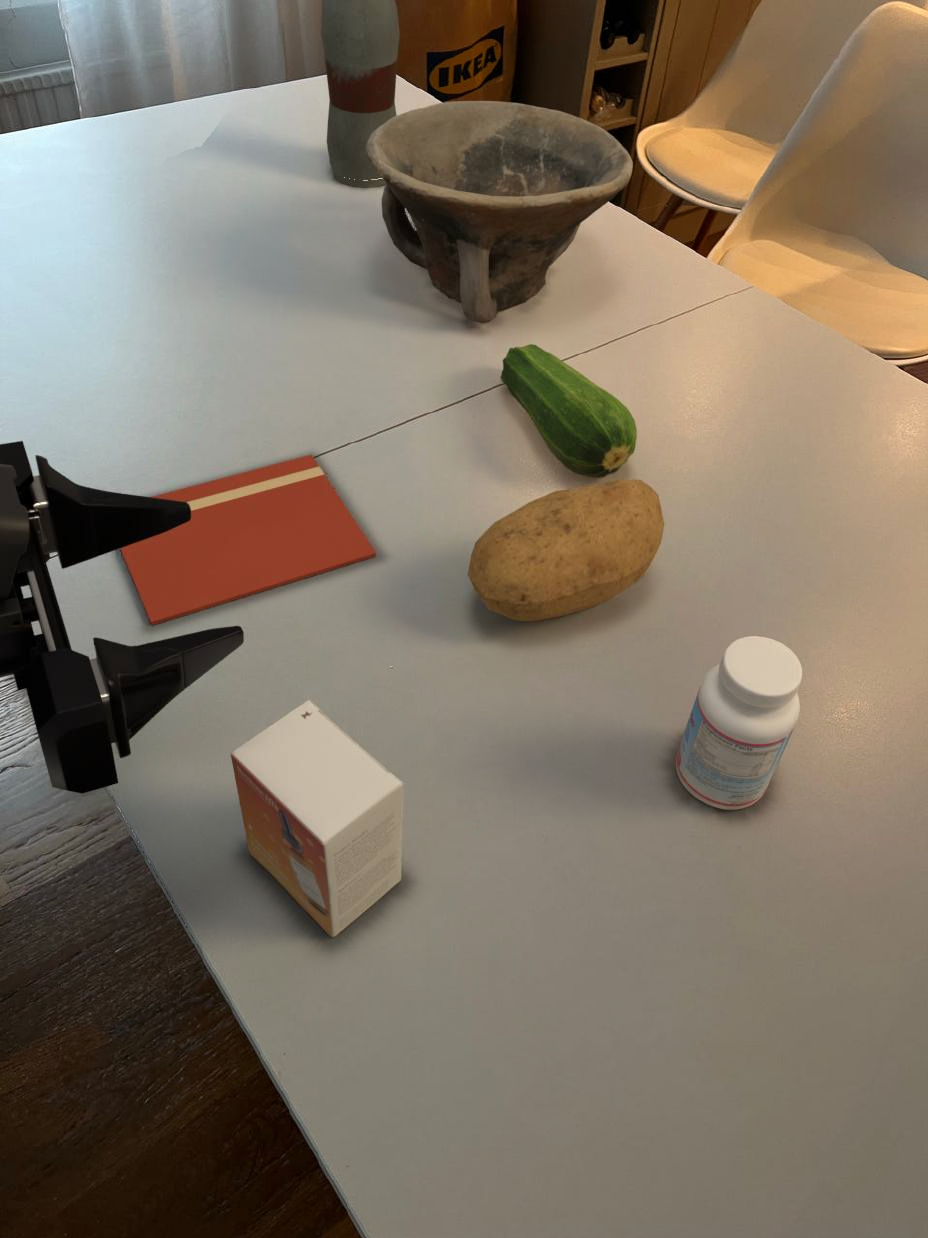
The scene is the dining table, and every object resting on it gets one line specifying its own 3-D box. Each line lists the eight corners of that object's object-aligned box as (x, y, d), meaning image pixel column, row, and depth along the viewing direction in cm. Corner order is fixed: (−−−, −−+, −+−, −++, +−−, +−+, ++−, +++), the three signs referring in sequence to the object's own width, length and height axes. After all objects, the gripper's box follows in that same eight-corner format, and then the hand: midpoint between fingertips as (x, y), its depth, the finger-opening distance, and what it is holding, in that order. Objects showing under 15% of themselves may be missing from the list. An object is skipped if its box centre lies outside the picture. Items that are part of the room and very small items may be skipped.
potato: (445, 583, 78) (449, 489, 71) (620, 537, 83) (639, 445, 76) (489, 661, 73) (498, 568, 66) (674, 608, 77) (700, 516, 70)
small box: (247, 853, 61) (225, 750, 53) (319, 799, 64) (307, 694, 56) (333, 943, 57) (322, 846, 50) (404, 881, 60) (405, 781, 53)
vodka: (314, 169, 130) (296, -112, 108) (371, 154, 134) (365, -121, 112) (356, 195, 125) (347, -94, 103) (414, 178, 129) (416, -103, 108)
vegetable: (603, 413, 80) (502, 296, 93) (558, 486, 84) (466, 364, 96) (667, 432, 84) (561, 318, 97) (621, 500, 88) (525, 382, 101)
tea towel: (151, 625, 74) (150, 621, 73) (104, 512, 82) (103, 508, 82) (376, 556, 80) (376, 552, 79) (311, 457, 88) (311, 453, 88)
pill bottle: (707, 723, 70) (747, 610, 61) (783, 775, 67) (835, 664, 59) (655, 774, 66) (690, 662, 58) (733, 831, 64) (781, 722, 55)
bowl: (550, 214, 124) (565, 83, 113) (654, 320, 107) (683, 179, 96) (341, 242, 116) (335, 105, 105) (418, 361, 100) (420, 213, 89)
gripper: (-155, 692, 35) (277, 592, 41) (-194, 375, 45) (157, 333, 51) (-77, 847, 43) (273, 744, 49) (-126, 550, 53) (170, 496, 59)
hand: (215, 569), depth 52 cm, fingers open, 9 cm apart
